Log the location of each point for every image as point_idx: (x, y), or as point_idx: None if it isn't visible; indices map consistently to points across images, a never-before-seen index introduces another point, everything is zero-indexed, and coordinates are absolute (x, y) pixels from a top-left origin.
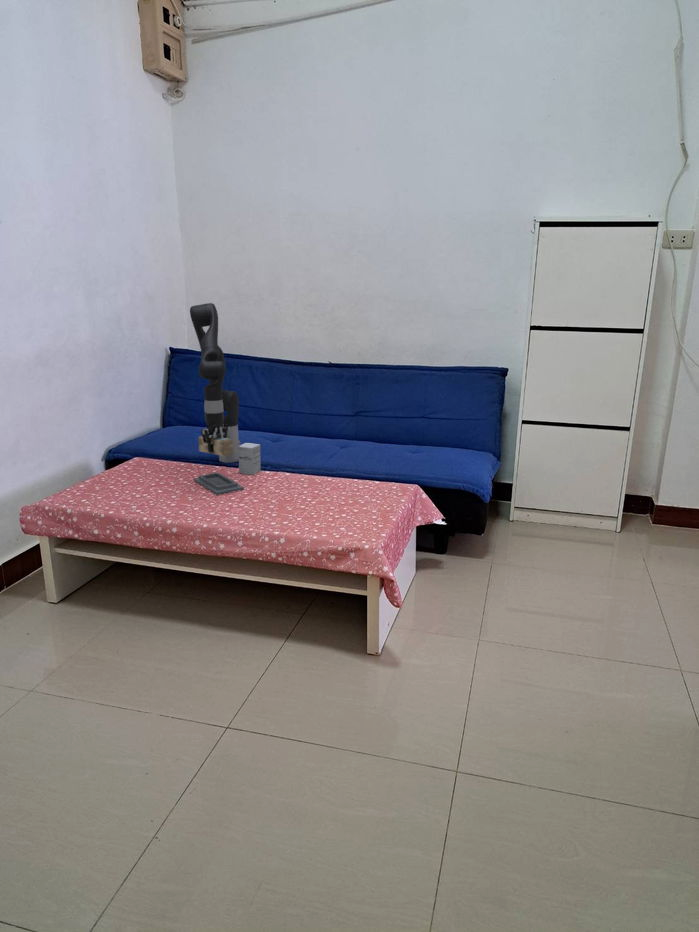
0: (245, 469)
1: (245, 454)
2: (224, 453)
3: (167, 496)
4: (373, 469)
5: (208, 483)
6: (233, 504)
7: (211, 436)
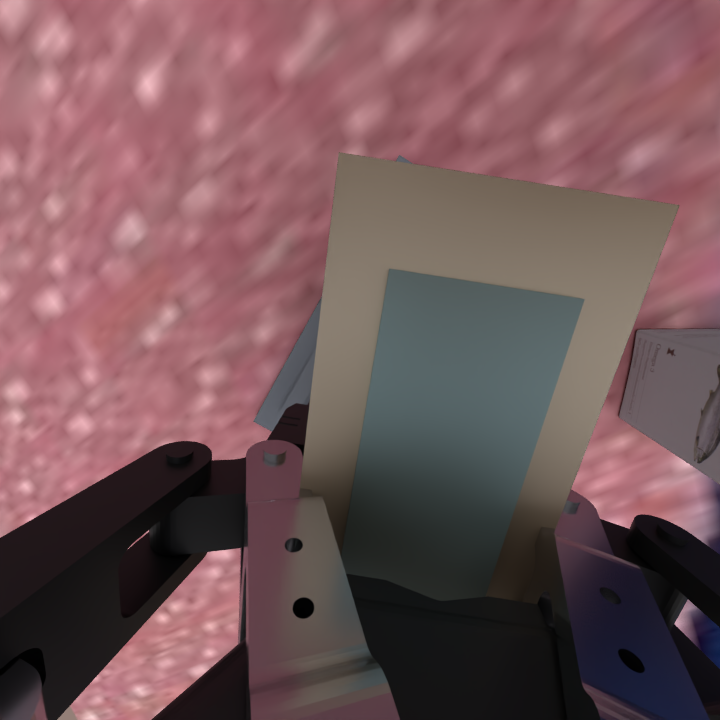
0: (647, 383)
1: None
2: None
3: (112, 192)
4: None
5: None
6: None
7: (241, 636)
